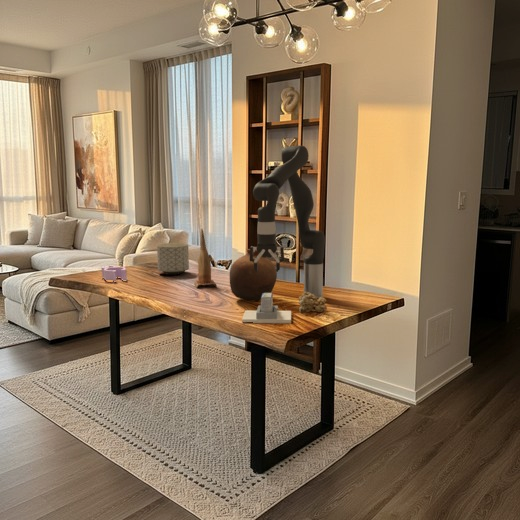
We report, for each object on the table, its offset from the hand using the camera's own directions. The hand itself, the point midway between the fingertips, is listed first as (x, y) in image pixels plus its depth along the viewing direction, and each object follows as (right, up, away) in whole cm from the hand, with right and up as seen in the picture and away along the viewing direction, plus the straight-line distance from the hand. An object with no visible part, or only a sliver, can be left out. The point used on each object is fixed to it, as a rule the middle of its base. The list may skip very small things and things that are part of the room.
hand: (267, 271), depth 212 cm
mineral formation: (+20, -18, +16) cm, 31 cm away
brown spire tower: (-33, -10, +68) cm, 77 cm away
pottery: (-6, -15, +36) cm, 39 cm away
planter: (-56, -4, +105) cm, 119 cm away
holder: (0, -20, +3) cm, 20 cm away
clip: (-89, -7, +89) cm, 126 cm away
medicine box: (0, -19, +3) cm, 19 cm away
